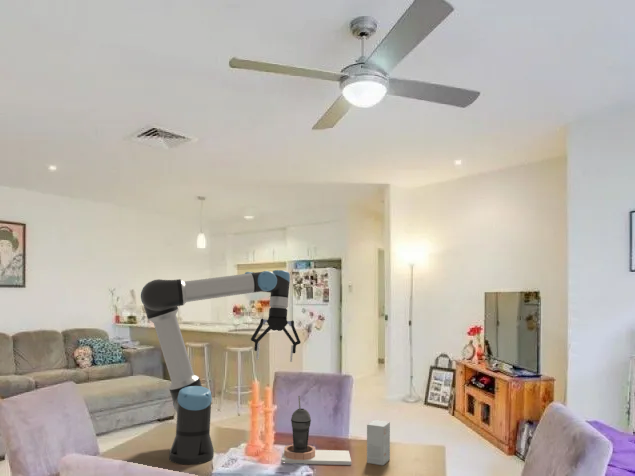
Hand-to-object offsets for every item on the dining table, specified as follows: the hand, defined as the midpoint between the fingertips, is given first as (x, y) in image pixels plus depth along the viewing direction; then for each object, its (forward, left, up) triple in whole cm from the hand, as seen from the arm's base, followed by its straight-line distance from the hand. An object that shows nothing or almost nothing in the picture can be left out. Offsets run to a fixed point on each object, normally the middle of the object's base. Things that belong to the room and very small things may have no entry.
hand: (274, 360), depth 196 cm
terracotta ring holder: (+12, -19, -30) cm, 38 cm away
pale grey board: (+18, -19, -31) cm, 41 cm away
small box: (+40, -20, -32) cm, 55 cm away
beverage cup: (+12, -19, -30) cm, 38 cm away
